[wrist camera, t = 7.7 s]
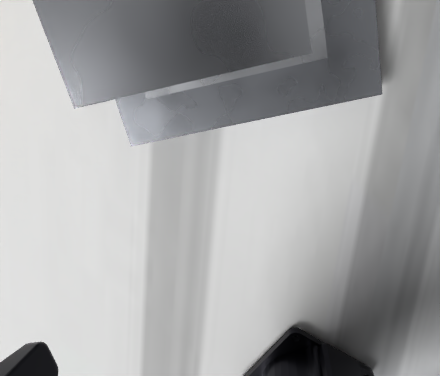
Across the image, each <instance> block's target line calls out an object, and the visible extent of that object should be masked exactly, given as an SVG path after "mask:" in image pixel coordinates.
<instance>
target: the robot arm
mask: <svg viewBox="0 0 440 376" xmlns="http://www.w3.org/2000/svg"><path fill="white" fill-rule="evenodd" d="M294 336H297V337H294ZM0 376H58V366H57V364H56V362H55V360H54V358H53V356H52V354H51V352H50V350H49V348H48V346H47V344H45V343H44V342H34V343H28V344H26V345H24V346H23V347H21V348H20V349H18V350H17V351H16V352H14V353H13V354H11V355H10V356H9V357H7V358H6V359H4V360H3V361H2V362H0ZM245 376H374V374H373V371H372V369H371V368H369V367H367V366H365V365H364V364H362V363H360V362H358V361H357V360H356V359H354V358H352V357H350V356H348V355H347V354H345V353H343V352H341V351H339V350H338V349H336V348H334V347H332V346H330V345H329V344H326V343H324V342H322V341H321V340H319V339H317V338H315V337H314V336H312V335H310V334H308V333H306V332H305V331H303V330H301V329H299V328H291V329H290V330H288V331H287V332H286V334H285V335H284V336H283V337H282V338H281V339H280V340H279V341H278V342H277V343H276V344H275V345H274V346H273V347H272V348H271V349H270V350H269V351H268V352H267V353H266V354H265V355H264V356H263V357H262V358H261V359H260V360H259V361H258V362H257V363H256V364H255V365H254V366H253V367H252V368H251V369H250V370H249V371H248V372H247V373H246V374H245Z"/></svg>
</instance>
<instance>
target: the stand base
mask: <svg viewBox="0 0 440 376" xmlns="http://www.w3.org/2000/svg"><path fill="white" fill-rule="evenodd" d="M305 7H306V14H307V21H308V29H309V36H310V43H311V51H312V53H311V54H307V55H303V56H298V57H294V58H290V59H285V60H281V61H277V62H272V63H268V64H264V65H260V66H255V67H251V68H247V69H242V70H238V71H234V72H229V73H225V74H221V75H217V76H212V77H208V78H204V79H199V80H195V81H191V82H186V83H182V84H178V85H174V86H169V87H165V88H161V89H156V90H152V91H148V92H143V93H139V94H135V95H131V96H126V97H122V98H118V99H115V100H116V103H117V106H118V109H119V112H120V115H121V118H122V120H123V123H124V126H125V129H126V132H127V135H128V138H129V141H130V144H131V146H134V145H139V144H144V143H149V142H154V141H159V140H164V139H168V138H173V137H178V136H183V135H188V134H193V133H197V132H202V131H207V130H212V129H217V128H222V127H226V126H231V125H236V124H241V123H246V122H251V121H255V120H260V119H265V118H270V117H275V116H280V115H285V114H289V113H294V112H299V111H304V110H309V109H314V108H318V107H323V106H328V105H333V104H338V103H343V102H347V101H352V100H357V99H362V98H367V97H372V96H376V95H381V94H382V84H381V71H380V57H379V43H378V30H377V16H376V2H375V0H305Z"/></svg>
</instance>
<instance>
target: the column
mask: <svg viewBox="0 0 440 376" xmlns="http://www.w3.org/2000/svg"><path fill="white" fill-rule="evenodd" d="M33 3H34V5H35V8H36V11H37V13H38V16H39V18H40V21H41V24H42V26H43V29H44V31H45V34H46V36H47V39H48V42H49V44H50V47H51V49H52V52H53V55H54V57H55V60H56V62H57V65H58V67H59V70H60V73H61V75H62V78H63V80H64V83H65V85H66V88H67V91H68V93H69V96H70V98H71V101H72V104H73V106H74V109H75V108H79V107H83V106H88V105H92V104H96V103H100V102H105V101H109V100H113V99H118V98H122V97H126V96H131V95H135V94H139V93H143V92H148V91H152V90H156V89H161V88H165V87H169V86H174V85H178V84H182V83H186V82H191V81H195V80H199V79H204V78H208V77H212V76H217V75H221V74H225V73H229V72H234V71H238V70H242V69H247V68H251V67H255V66H260V65H264V64H268V63H272V62H277V61H281V60H285V59H290V58H294V57H298V56H303V55H307V54H311V53H312V51H311V43H310V36H309V29H308V21H307V14H306V7H305V0H33Z"/></svg>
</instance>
